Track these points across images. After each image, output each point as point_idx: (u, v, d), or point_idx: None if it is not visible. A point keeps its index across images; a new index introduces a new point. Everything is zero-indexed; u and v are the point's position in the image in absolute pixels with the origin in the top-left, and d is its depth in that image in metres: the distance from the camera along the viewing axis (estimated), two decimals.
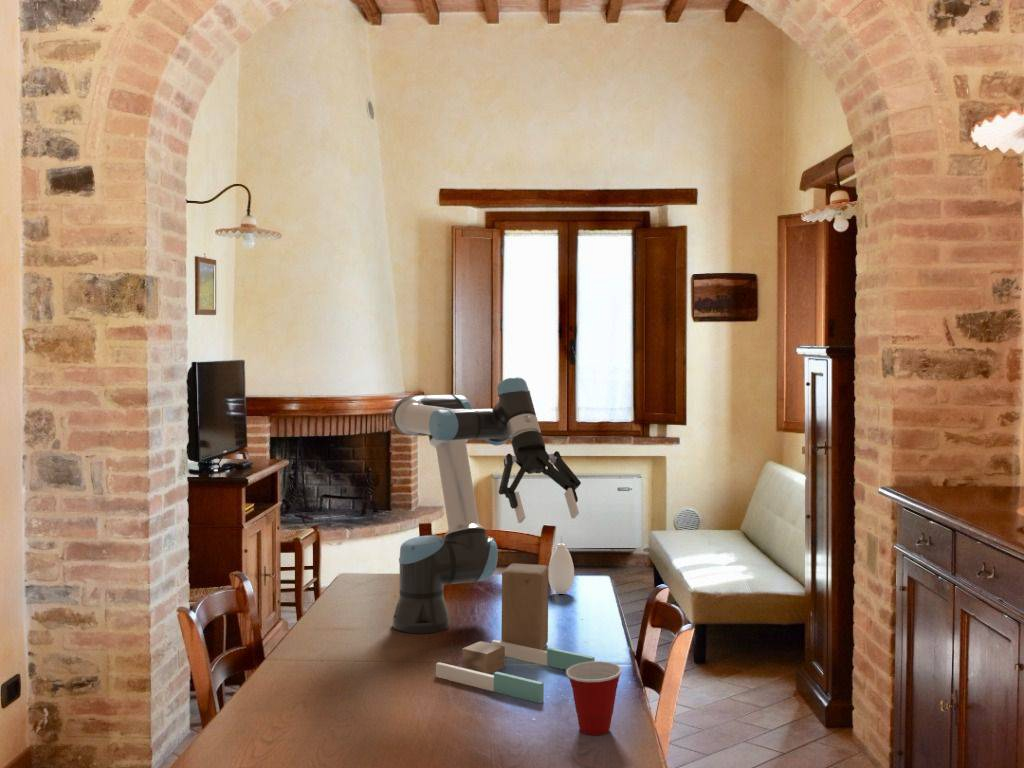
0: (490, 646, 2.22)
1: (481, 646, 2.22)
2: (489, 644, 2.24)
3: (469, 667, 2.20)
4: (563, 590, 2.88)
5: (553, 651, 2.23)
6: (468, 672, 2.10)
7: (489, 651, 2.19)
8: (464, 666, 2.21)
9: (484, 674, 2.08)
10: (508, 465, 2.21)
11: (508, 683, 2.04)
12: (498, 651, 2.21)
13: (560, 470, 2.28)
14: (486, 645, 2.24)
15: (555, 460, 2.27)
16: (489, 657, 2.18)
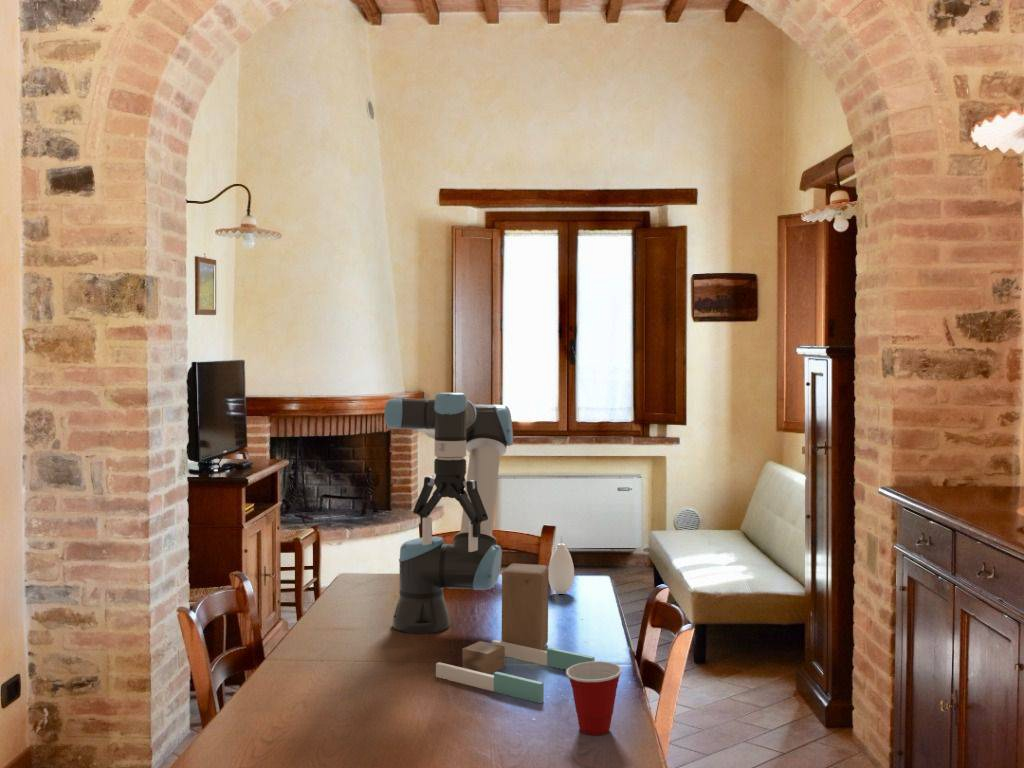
0: (490, 646, 2.23)
1: (481, 646, 2.22)
2: (488, 644, 2.24)
3: (469, 667, 2.20)
4: (563, 590, 2.88)
5: (553, 651, 2.23)
6: (468, 672, 2.10)
7: (489, 651, 2.19)
8: (464, 666, 2.21)
9: (484, 674, 2.08)
10: (423, 489, 2.30)
11: (508, 683, 2.04)
12: (498, 651, 2.21)
13: None
14: (486, 645, 2.24)
15: None
16: (489, 657, 2.18)
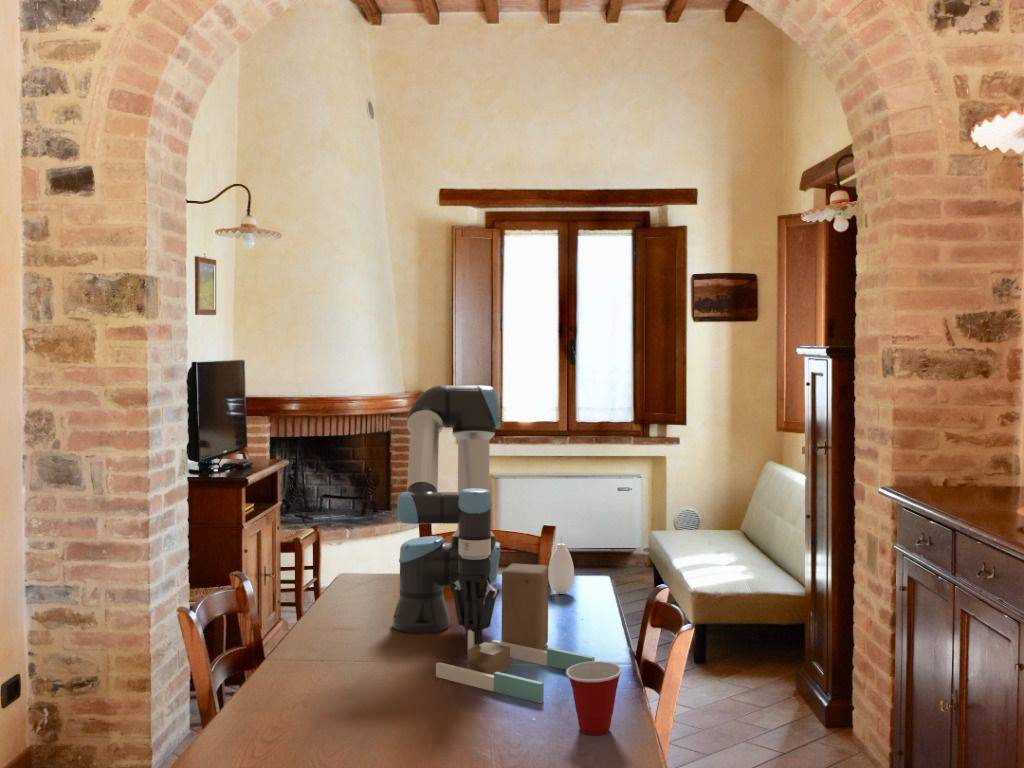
0: (496, 647, 2.22)
1: (487, 647, 2.21)
2: (494, 645, 2.23)
3: (475, 668, 2.19)
4: (563, 590, 2.88)
5: (553, 651, 2.23)
6: (468, 672, 2.10)
7: (495, 652, 2.18)
8: (470, 667, 2.20)
9: (484, 674, 2.08)
10: (454, 597, 2.25)
11: (508, 683, 2.04)
12: (504, 651, 2.20)
13: None
14: (492, 645, 2.23)
15: None
16: (495, 658, 2.17)
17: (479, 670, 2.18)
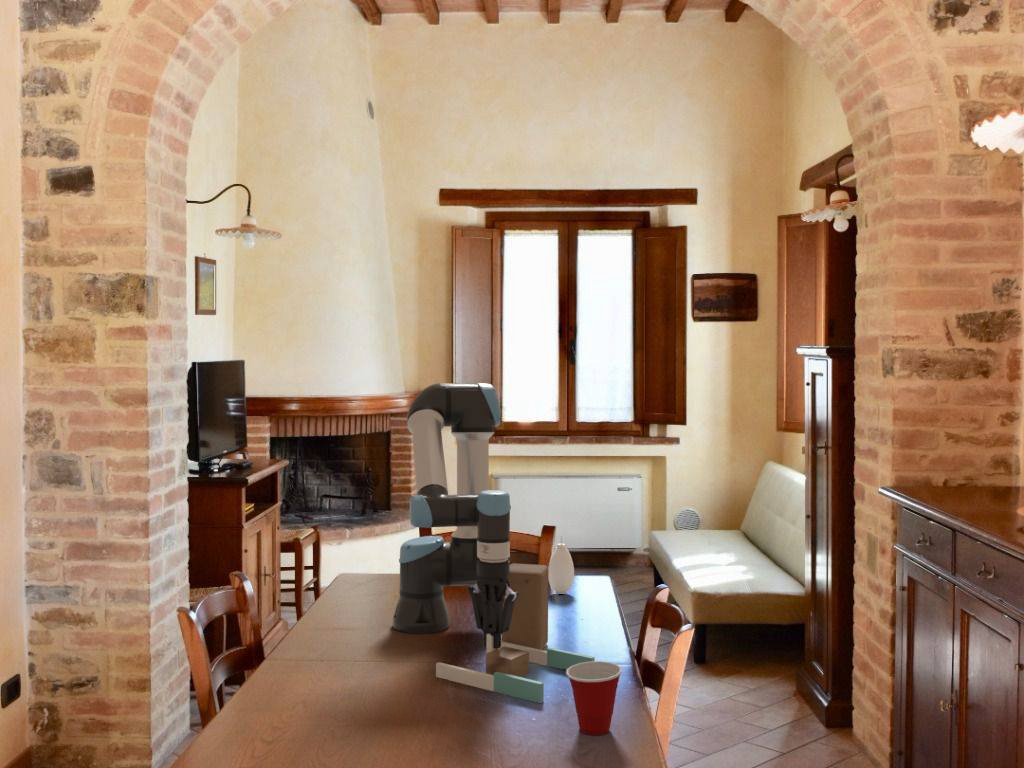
0: (514, 652, 2.18)
1: (505, 652, 2.18)
2: (513, 649, 2.20)
3: (493, 673, 2.16)
4: (563, 590, 2.88)
5: (553, 651, 2.23)
6: (468, 672, 2.10)
7: (513, 657, 2.15)
8: (488, 672, 2.17)
9: (484, 674, 2.08)
10: (473, 600, 2.22)
11: (508, 683, 2.04)
12: (522, 656, 2.17)
13: None
14: (510, 650, 2.20)
15: None
16: (513, 663, 2.14)
17: None
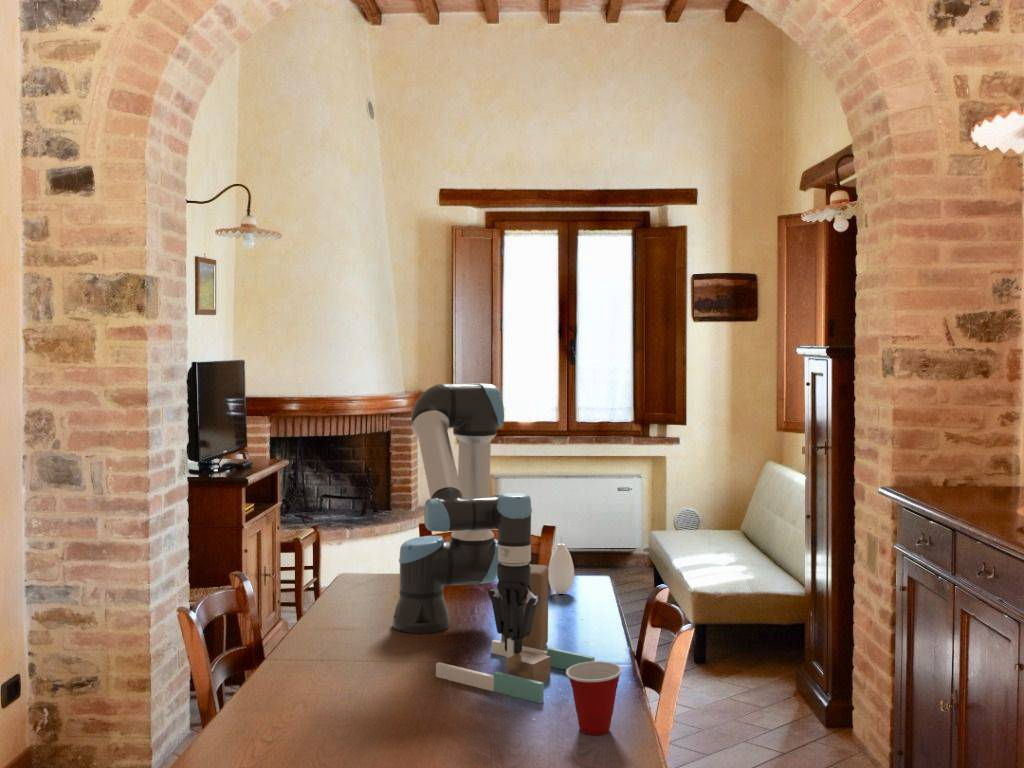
0: (535, 656, 2.15)
1: (526, 656, 2.15)
2: (534, 654, 2.17)
3: None
4: (563, 590, 2.88)
5: (553, 651, 2.23)
6: (468, 672, 2.10)
7: (535, 661, 2.12)
8: None
9: (484, 674, 2.08)
10: (493, 604, 2.18)
11: (508, 683, 2.04)
12: (544, 661, 2.13)
13: None
14: (531, 654, 2.16)
15: None
16: (535, 667, 2.10)
17: None
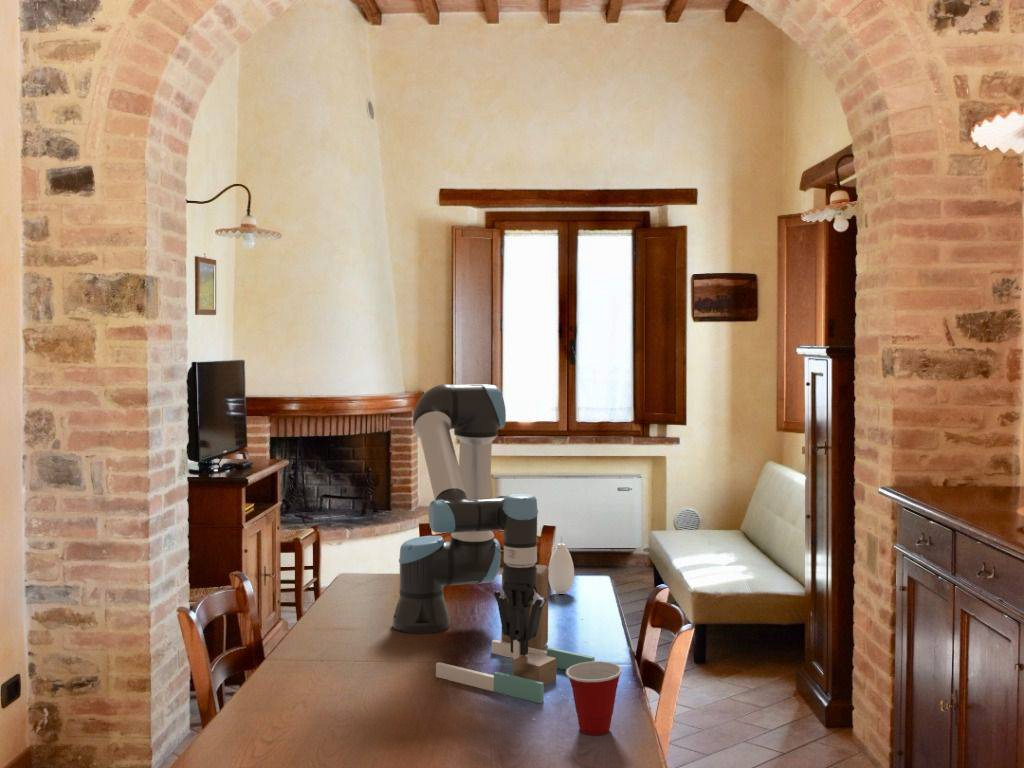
0: (541, 658, 2.14)
1: (532, 658, 2.14)
2: (539, 655, 2.16)
3: None
4: (563, 590, 2.88)
5: (553, 651, 2.23)
6: (468, 672, 2.10)
7: (541, 663, 2.11)
8: None
9: (484, 674, 2.08)
10: (499, 606, 2.18)
11: (508, 683, 2.04)
12: (550, 663, 2.12)
13: None
14: (537, 656, 2.15)
15: (534, 604, 2.13)
16: (541, 669, 2.10)
17: None
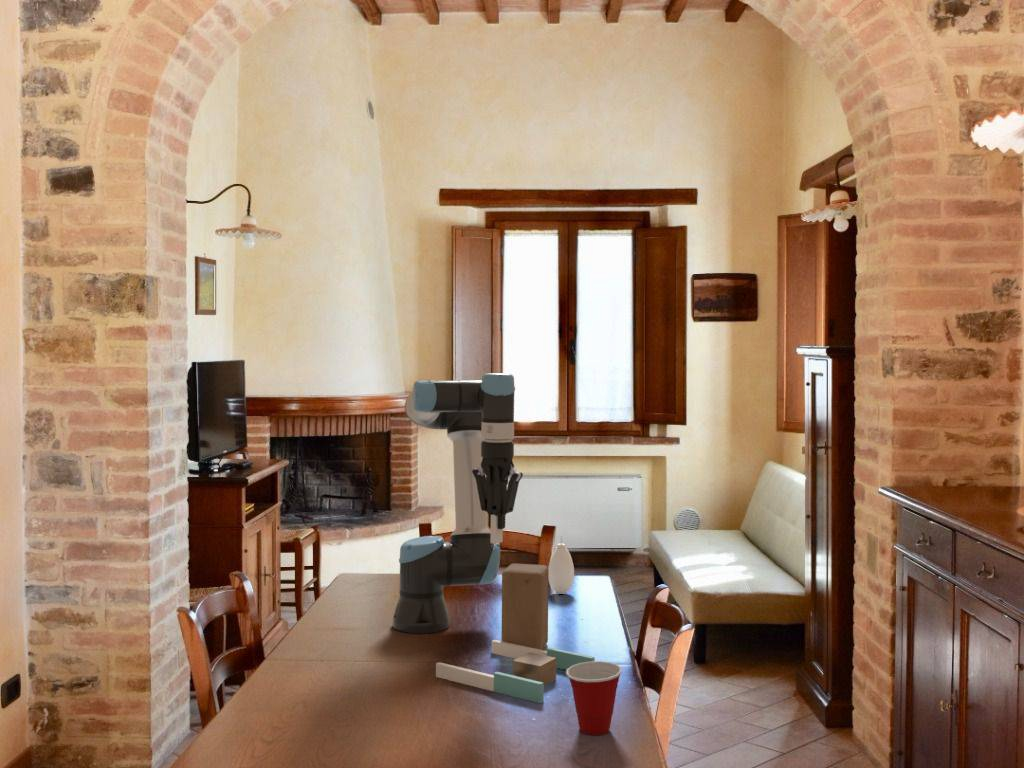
0: (541, 658, 2.14)
1: (532, 658, 2.14)
2: (539, 655, 2.16)
3: None
4: (563, 590, 2.88)
5: (553, 651, 2.23)
6: (468, 672, 2.10)
7: (542, 663, 2.11)
8: None
9: (484, 674, 2.08)
10: (477, 482, 2.23)
11: (508, 683, 2.04)
12: (550, 662, 2.13)
13: None
14: (537, 656, 2.16)
15: None
16: (542, 669, 2.10)
17: None
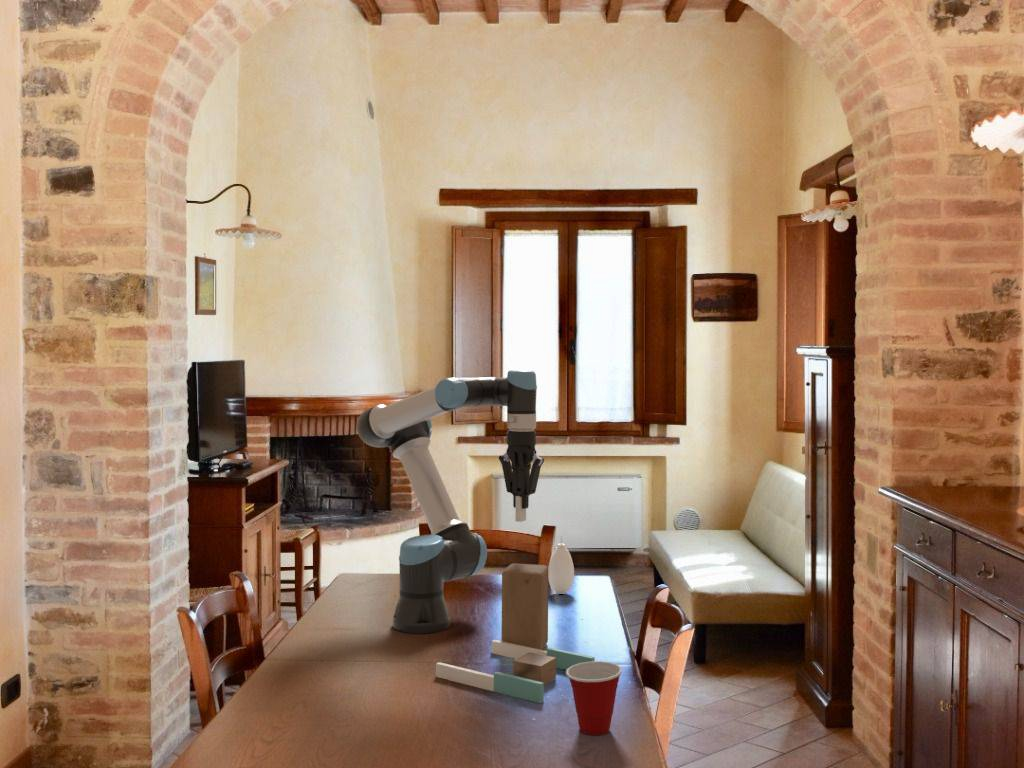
0: (541, 658, 2.14)
1: (532, 658, 2.14)
2: (538, 655, 2.16)
3: None
4: (563, 590, 2.88)
5: (553, 651, 2.23)
6: (468, 672, 2.10)
7: (542, 663, 2.11)
8: None
9: (484, 674, 2.08)
10: (503, 467, 2.51)
11: (508, 683, 2.04)
12: (550, 662, 2.13)
13: None
14: (537, 656, 2.16)
15: None
16: (543, 669, 2.10)
17: None
